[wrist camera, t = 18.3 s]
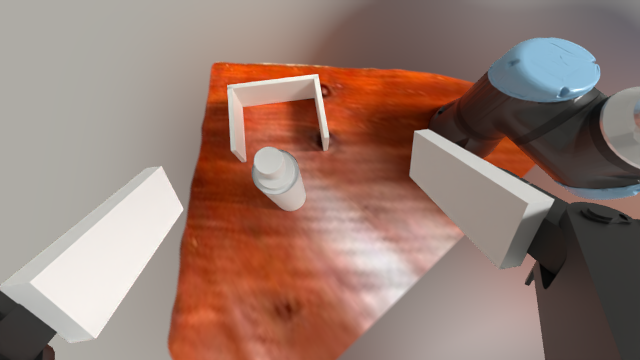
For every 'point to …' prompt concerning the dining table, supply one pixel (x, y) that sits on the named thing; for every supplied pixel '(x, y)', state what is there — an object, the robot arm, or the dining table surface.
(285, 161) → the white bottle
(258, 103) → the storage bay
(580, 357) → the robot arm
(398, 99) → the dining table surface
